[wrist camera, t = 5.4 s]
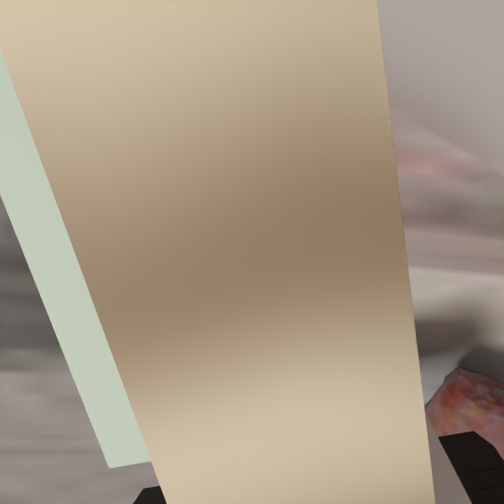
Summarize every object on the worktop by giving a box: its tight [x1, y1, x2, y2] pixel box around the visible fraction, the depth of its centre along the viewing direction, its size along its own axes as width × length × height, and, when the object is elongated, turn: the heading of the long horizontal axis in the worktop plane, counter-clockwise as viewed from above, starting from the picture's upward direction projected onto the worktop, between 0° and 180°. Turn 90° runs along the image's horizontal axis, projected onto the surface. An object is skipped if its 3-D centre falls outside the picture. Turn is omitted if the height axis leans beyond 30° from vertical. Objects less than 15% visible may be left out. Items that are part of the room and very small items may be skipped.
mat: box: [0, 50, 151, 468], centre depth 31 cm, size 32×10×1 cm, turn 12°
